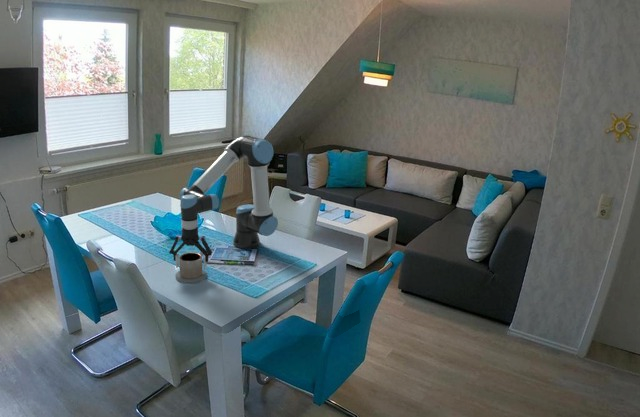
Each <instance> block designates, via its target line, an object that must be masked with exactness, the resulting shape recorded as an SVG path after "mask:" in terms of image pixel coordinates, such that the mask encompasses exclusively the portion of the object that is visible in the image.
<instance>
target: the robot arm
mask: <svg viewBox="0 0 640 417" xmlns="http://www.w3.org/2000/svg"><path fill="white" fill-rule="evenodd" d="M273 157H274V148H273V145H272V143H271V142H269V141H268V140H267V139H264V138H259V137H255V136H252V135H241V136H239V137H237V138H235V139H234V140H232V141H231V142H230V143H229V144H228V145H227V146H226V147H224V149H223V153H222V154H221V155H220V156H219V157H218V158H216V160H215V161H214V162H213V163H212V164H211V165H210V166H209V167H208V168H207V169H206V170H205V171H204V173H203V174H201V176H200V177H198V179H196V180H195V181H194V182H193V184H192V185H191V186H190V187H183V188H182V189H181V190H180V191H179V199H180V205H179V206H180V216H181V218H180V219H181V220H180V222H181V235H180V234H177V235H176V236H175V237H174V238H175V239H174V243H173V244H172V246H171V248H170V250H169V254H170V255H173V261H174V262H175V268H177V269H178V268H179V267H180V263H179V257H180V255H179V252H180V251H181V249H182V248H183V247H184V246H190V247H191V246H192V247H193V246H194V247H195V248H197V249H198V250H199V251H200V252H201V253H202V254H203V270H206V269H207V266H208V265H207V263H208V262H209V256H212V253H213V251H212V249H211V247H210V246H209V244H208V242H207V241H206V236H205V235H202V236H199V227H198V226H199V221H198V218H199V216H198V215H199V214H201V213H206V212H210V211H213V210H216V209H218V208H219V206H220V199H219V198H218V196H217V195H216V194H215V193H212V194H211V193H210V194H209V193H208V194H206V193H207V192H208V191H209V190H211V188H212V187H213V185H215V183H217V182H218V180H219V179H220V178H221V177H222V176H223V175H224V174H225V173H226V172H227V171H228V170H229V169H230V168H231V167H232V165H233V164H235V163H237V162H239V161H240V160H241V159H244V158H245V159H246V162H247V166H248V167H249V168H250V175H251V187H252V189H251V190H252V197H253V198H252V201H253V204H251V203H250V204H249V203H247V204H243V205H239V206H237V208H236V213H235V216H236V217H235V218H236V219H235V223H236V225H235V227H236V228H235V230H236V231H235V235H234V237H233V240H232V242H233V243H232V245H233V246H234V247H236V248H238V249H242V250H245V249H246V250H248V248H250V249H254V248H257V247H259V246H260V240H261V239H260V237H259V235H260V236H265V237H269V236H271V235H273V234H274V233H275V232H276V230H277V228H278V226H279V219H278V218H277V217H276V216H275V215H274V209H272V208H271V206H270V205H271V204H270V189H269V188H270V187H269V178H268V175H269V174H268V167H269V165H270V164H271V163H270V162H271V161H272V160H273ZM180 240H181V241H182V242H181V243H180V244H179V246H178V247H177V248H176V246H177V244H178V242H179V241H180ZM199 241H200V242H201V243H200V242H199Z"/></svg>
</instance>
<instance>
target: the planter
mask: <svg viewBox="0 0 640 417" xmlns="http://www.w3.org/2000/svg"><path fill="white" fill-rule="evenodd" d="M202 270H203V256H202V254H200V253H198V252H185V253H183V254H181V255H179V271H180V276H181V277H183V278H186V279H194V278H198V277H200V276H201V275H202Z"/></svg>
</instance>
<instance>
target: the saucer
mask: <svg viewBox="0 0 640 417" xmlns="http://www.w3.org/2000/svg"><path fill="white" fill-rule="evenodd" d="M174 277H175V280H176V281H177V282H180V283H182V284H197V283H200V282H203V281H205V279H207V278H208V273H207V271H206V270H205V269H202V275H201V276H200V277H198V278H194V279H186V278H183V277H181V276H180V270H178V271H177V272H176V273H175V276H174Z"/></svg>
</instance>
